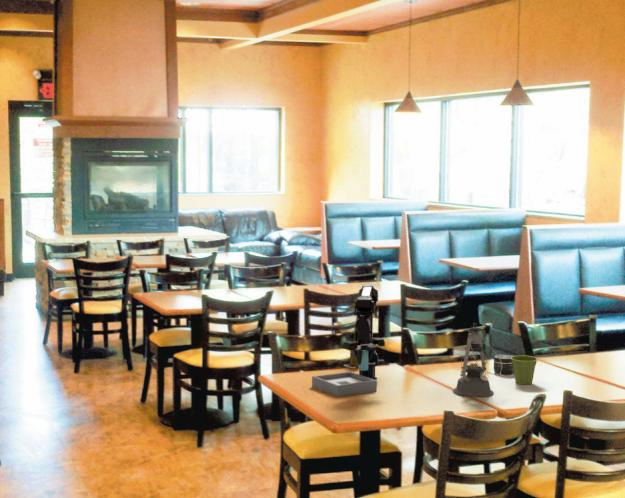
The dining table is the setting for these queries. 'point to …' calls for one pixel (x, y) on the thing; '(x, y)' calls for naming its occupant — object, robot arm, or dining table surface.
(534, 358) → the plant pot
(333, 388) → the box
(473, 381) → the lantern
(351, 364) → the condiment
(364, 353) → the peg
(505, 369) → the jar
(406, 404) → the dining table surface
